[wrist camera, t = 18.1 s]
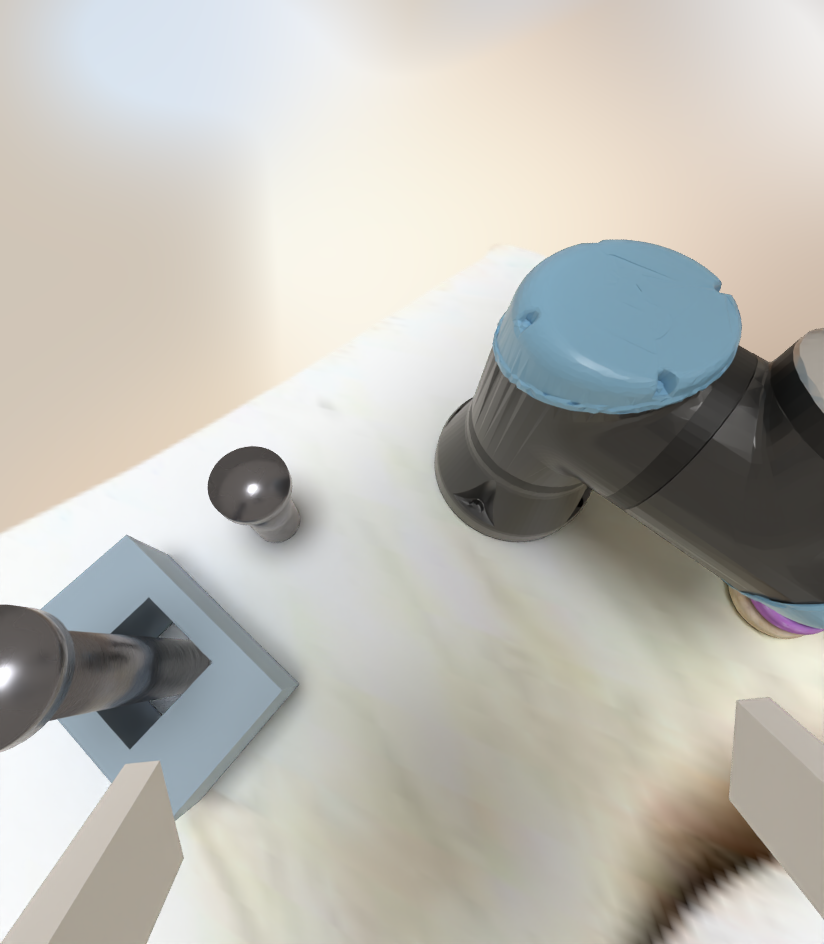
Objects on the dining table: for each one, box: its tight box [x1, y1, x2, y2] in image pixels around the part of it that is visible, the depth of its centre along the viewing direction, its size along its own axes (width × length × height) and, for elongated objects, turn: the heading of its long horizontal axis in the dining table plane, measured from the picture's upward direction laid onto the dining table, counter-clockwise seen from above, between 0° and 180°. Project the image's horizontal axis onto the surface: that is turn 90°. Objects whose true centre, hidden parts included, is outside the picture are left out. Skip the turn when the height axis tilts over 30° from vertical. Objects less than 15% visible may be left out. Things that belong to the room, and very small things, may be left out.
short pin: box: [208, 446, 300, 543], centre depth 36 cm, size 6×6×10 cm
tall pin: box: [0, 605, 209, 752], centre depth 27 cm, size 6×6×20 cm
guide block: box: [40, 535, 299, 820], centre depth 33 cm, size 16×10×7 cm, turn 50°
